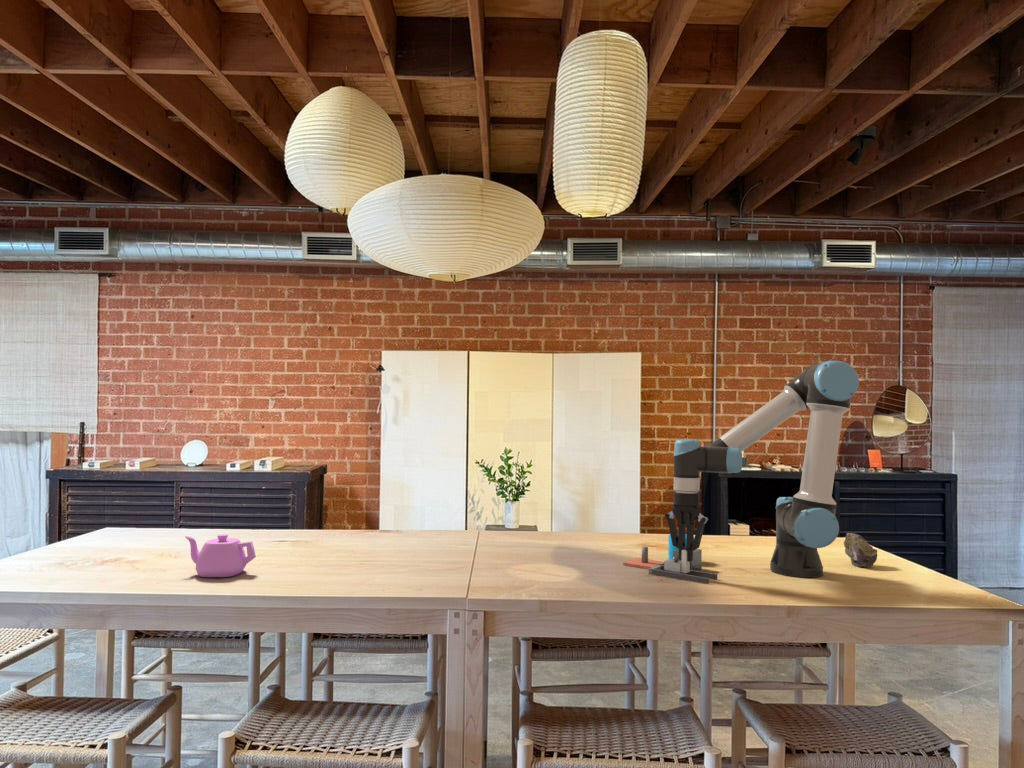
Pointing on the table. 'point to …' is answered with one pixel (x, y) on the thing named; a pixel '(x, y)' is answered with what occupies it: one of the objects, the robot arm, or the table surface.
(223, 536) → the teapot
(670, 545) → the mug
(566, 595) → the table surface
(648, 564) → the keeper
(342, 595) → the table surface
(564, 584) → the table surface
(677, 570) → the grey knobbed block
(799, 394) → the robot arm
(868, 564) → the rock
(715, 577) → the track
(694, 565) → the grey hollow block
